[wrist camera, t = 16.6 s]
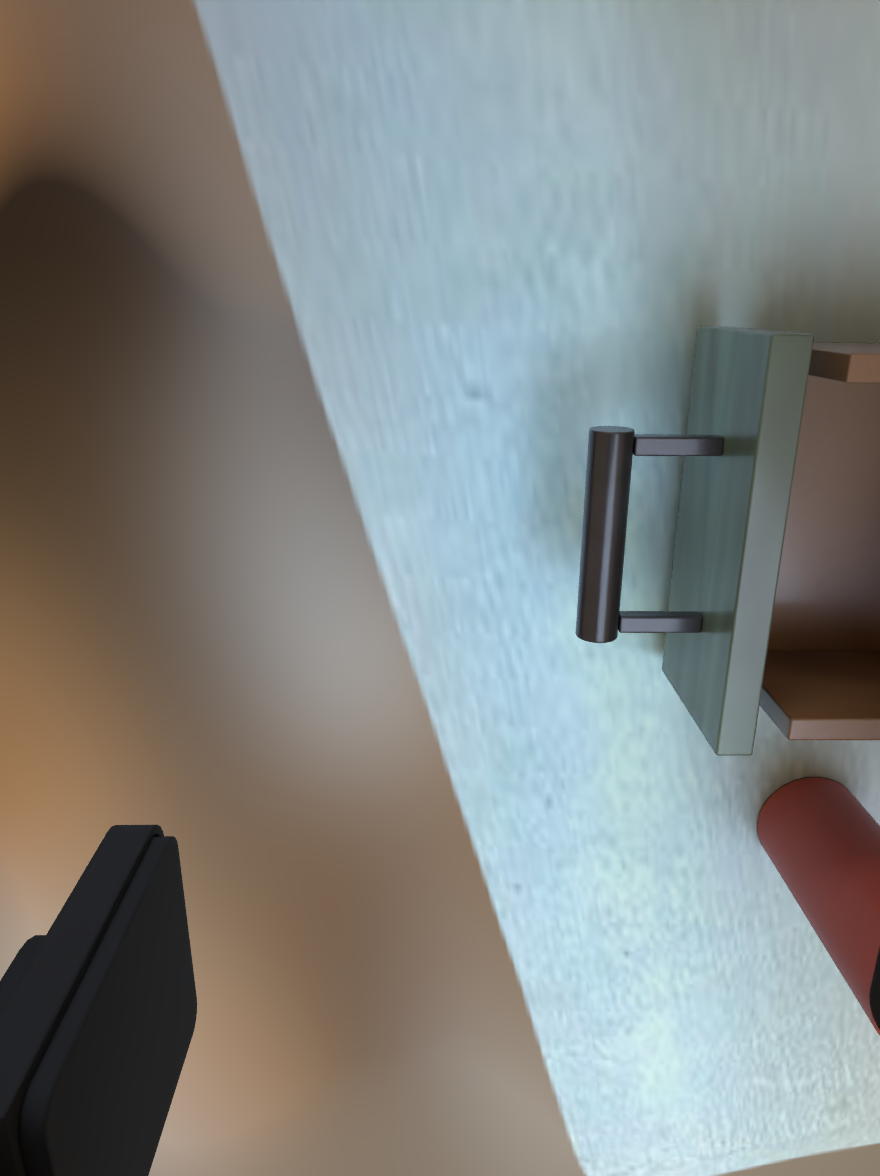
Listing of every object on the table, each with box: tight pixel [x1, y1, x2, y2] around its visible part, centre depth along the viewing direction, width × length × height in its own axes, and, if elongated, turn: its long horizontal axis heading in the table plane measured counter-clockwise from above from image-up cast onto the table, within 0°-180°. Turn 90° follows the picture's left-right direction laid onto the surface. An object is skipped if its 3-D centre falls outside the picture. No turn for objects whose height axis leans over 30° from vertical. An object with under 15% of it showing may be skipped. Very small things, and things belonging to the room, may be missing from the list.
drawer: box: [576, 326, 880, 755], centre depth 28 cm, size 18×13×7 cm
